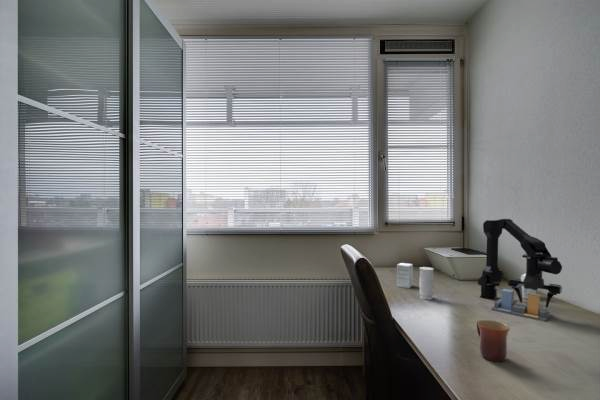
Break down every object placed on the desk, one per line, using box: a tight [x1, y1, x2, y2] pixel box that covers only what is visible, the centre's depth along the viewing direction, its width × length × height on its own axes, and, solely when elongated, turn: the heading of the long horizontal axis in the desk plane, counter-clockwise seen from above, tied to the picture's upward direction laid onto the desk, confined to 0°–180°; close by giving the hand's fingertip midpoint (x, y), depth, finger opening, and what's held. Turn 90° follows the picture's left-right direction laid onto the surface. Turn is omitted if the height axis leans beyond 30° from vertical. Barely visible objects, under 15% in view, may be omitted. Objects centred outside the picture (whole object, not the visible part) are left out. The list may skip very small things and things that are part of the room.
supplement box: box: [396, 262, 414, 289], centre depth 194 cm, size 7×7×13 cm
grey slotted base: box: [490, 298, 551, 322], centre depth 150 cm, size 20×12×3 cm, turn 45°
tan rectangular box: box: [526, 293, 541, 315], centre depth 146 cm, size 4×4×8 cm
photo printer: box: [519, 272, 537, 300], centre depth 174 cm, size 10×4×12 cm, turn 123°
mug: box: [476, 319, 510, 362], centre depth 108 cm, size 12×9×10 cm
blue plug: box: [500, 288, 515, 310], centre depth 153 cm, size 4×4×8 cm
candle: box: [418, 266, 435, 301], centre depth 171 cm, size 7×7×15 cm
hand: (533, 305), depth 146 cm, fingers open, 9 cm apart
